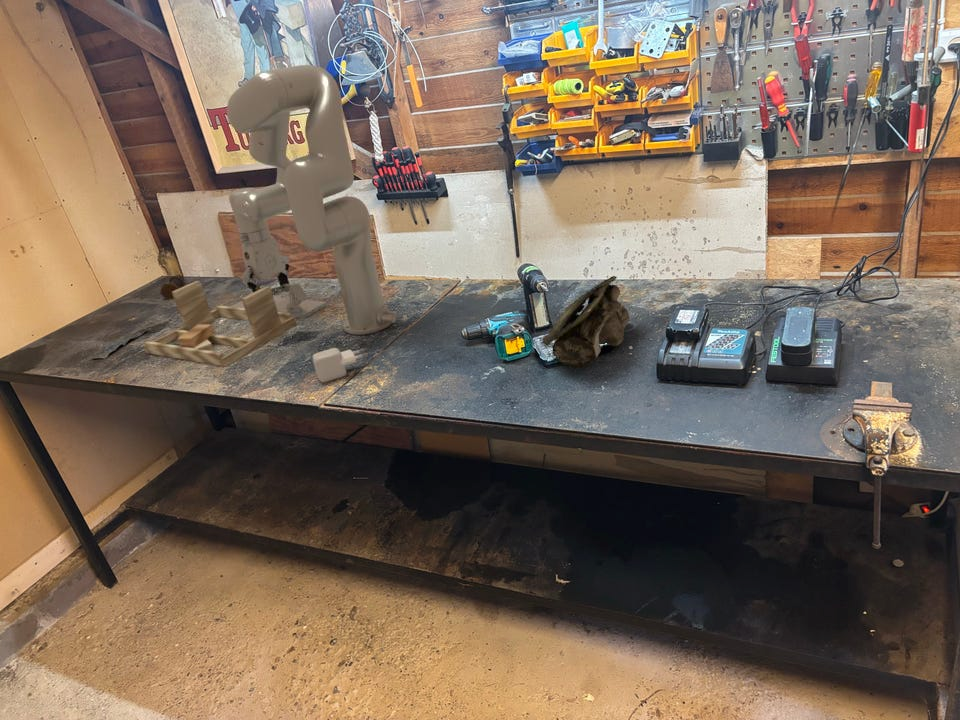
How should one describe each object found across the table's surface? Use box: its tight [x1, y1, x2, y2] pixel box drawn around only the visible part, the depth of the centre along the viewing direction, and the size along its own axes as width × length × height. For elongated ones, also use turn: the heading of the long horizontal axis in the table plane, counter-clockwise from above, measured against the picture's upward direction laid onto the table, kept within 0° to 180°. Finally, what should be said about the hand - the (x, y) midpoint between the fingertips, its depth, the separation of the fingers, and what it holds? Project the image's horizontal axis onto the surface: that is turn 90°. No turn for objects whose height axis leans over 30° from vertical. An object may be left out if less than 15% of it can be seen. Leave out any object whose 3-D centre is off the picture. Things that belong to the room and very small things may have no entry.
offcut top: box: [176, 323, 215, 348], centre depth 158 cm, size 8×4×2 cm, turn 164°
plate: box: [230, 296, 327, 319], centre depth 180 cm, size 29×9×1 cm, turn 61°
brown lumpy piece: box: [159, 274, 186, 300], centre depth 207 cm, size 6×5×15 cm
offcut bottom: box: [195, 339, 215, 352], centre depth 159 cm, size 10×4×3 cm, turn 37°
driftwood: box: [92, 323, 153, 360], centre depth 172 cm, size 21×7×2 cm, turn 165°
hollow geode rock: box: [542, 275, 630, 369], centre depth 128 cm, size 28×13×15 cm
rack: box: [143, 280, 298, 367], centre depth 162 cm, size 30×24×12 cm
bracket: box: [271, 282, 309, 308], centre depth 179 cm, size 3×21×10 cm, turn 59°
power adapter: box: [312, 347, 369, 383], centre depth 136 cm, size 11×5×6 cm, turn 114°
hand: (273, 295), depth 178 cm, fingers open, 9 cm apart
